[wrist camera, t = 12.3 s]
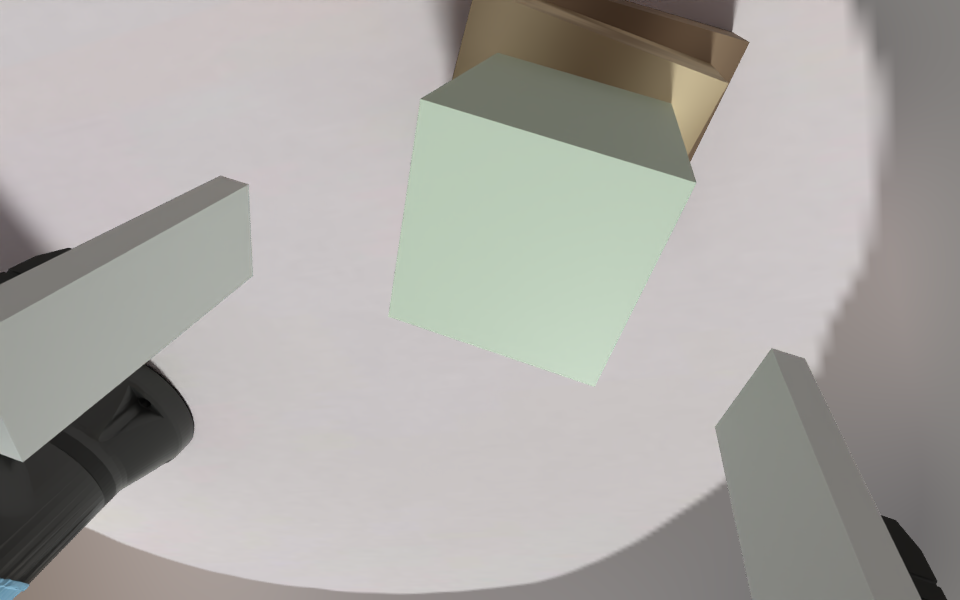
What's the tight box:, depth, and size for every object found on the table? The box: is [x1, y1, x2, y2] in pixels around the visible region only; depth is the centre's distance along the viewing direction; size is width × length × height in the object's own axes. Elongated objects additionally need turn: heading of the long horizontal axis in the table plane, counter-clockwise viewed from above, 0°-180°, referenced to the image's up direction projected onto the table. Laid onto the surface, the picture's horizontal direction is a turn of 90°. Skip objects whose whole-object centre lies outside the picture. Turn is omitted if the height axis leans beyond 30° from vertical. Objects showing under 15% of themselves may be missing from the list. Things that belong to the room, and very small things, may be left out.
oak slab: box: [452, 0, 728, 154], centre depth 24 cm, size 10×10×5 cm
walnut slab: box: [545, 0, 749, 161], centre depth 28 cm, size 12×12×5 cm
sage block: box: [388, 53, 696, 387], centre depth 18 cm, size 7×7×9 cm
